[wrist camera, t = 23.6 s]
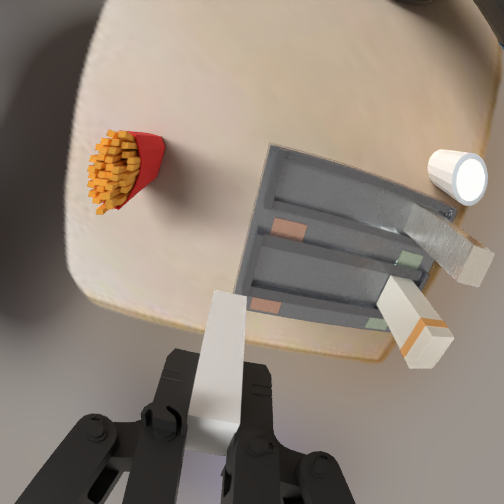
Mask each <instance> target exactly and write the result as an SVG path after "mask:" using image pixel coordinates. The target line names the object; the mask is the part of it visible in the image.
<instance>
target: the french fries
mask: <svg viewBox="0 0 504 504" xmlns="http://www.w3.org/2000/svg"><path fill="white" fill-rule="evenodd" d="M107 136H109V137H111V138H112V139H111V138H102V139H101V143H100V144H96V149H95V150H99V153H102V154H97V155H91V157H90V160H89V161H91V162H94V163H95V164H94V165H89V167H88V170H87V171H88V172H89V176H88V178H91V179H93V180H90V181H88V185H87V187H91V188H94V189H92V190H90V191H89V194H88V196H89V197H93V202H92V203H96V204H100V203H102V202H103V203H104V204H103V205H101V206H100V207H99V208H97V209H96V214H97V215H103V214H104V213H105V212H106V211H108V210H109V209H113V208H115V209H118V210H119V209H120V208H121V207H122V206H123V205H125V204H126V203H127V202H128V201H129V200H130V199H131V198H133V197H134V196H135V195H136V194H137V193H138V192H139V191H141V190H142V189H143V188H144V187H145V186H147V185H148V184H149V183H150V182H151V181H152V180H154V179H155V178H156V177H157V175H158V172H159V169H160V166H161V162H162V159H163V155H164V151H165V144H164V142H163V139H162V137H160V136H157V135H153V134H149V133H142V132H131V131H118V133H117V132H115V131H112V130H109V131H108V133H107ZM97 186H98V187H97ZM95 187H97V188H95Z"/></svg>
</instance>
